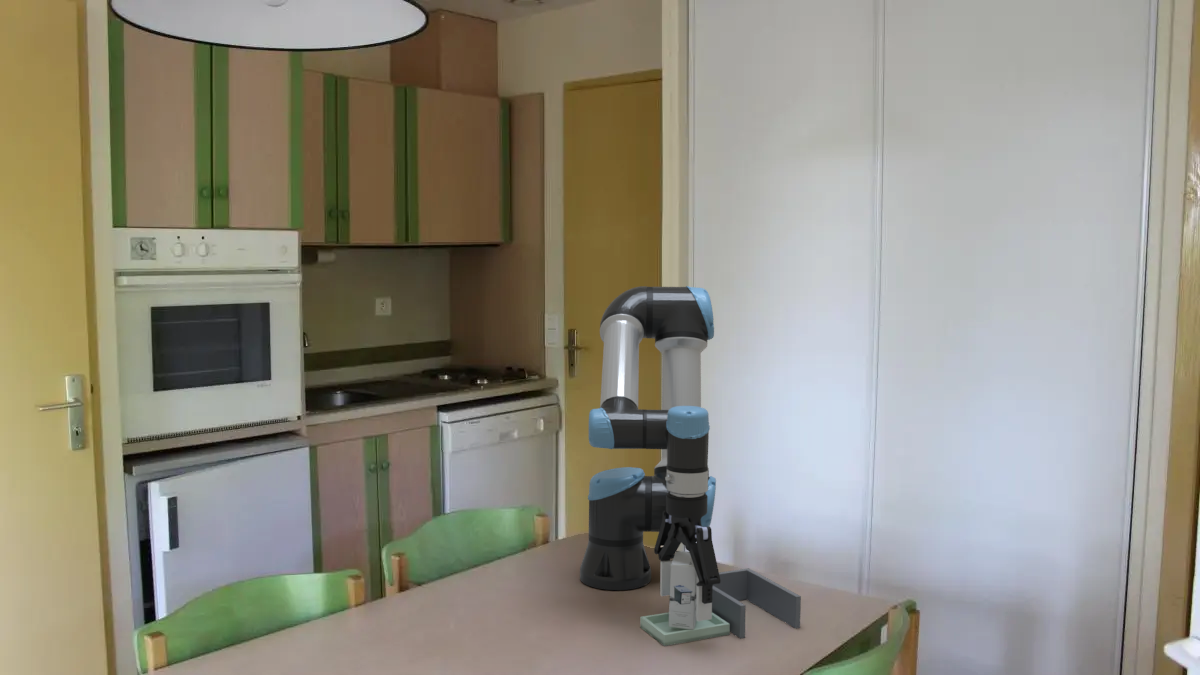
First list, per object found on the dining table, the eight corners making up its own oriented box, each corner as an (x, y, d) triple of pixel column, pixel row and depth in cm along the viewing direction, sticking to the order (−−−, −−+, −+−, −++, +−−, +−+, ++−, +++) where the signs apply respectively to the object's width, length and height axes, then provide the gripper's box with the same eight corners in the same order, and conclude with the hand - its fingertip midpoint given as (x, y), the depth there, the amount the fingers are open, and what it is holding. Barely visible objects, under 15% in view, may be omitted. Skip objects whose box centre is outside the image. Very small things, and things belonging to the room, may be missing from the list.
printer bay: (691, 606, 187) (692, 576, 187) (748, 597, 192) (748, 568, 192) (740, 638, 171) (740, 606, 171) (800, 627, 176) (800, 596, 176)
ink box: (674, 610, 179) (675, 549, 178) (701, 613, 178) (702, 551, 177) (668, 627, 171) (668, 563, 170) (696, 630, 170) (697, 565, 169)
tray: (640, 627, 176) (640, 616, 176) (703, 616, 181) (703, 606, 181) (664, 646, 167) (664, 635, 167) (729, 634, 173) (729, 623, 173)
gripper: (637, 479, 182) (636, 587, 184) (703, 511, 160) (701, 634, 161) (672, 476, 185) (670, 582, 187) (741, 506, 163) (739, 627, 164)
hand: (684, 607), depth 174 cm, fingers open, 13 cm apart
